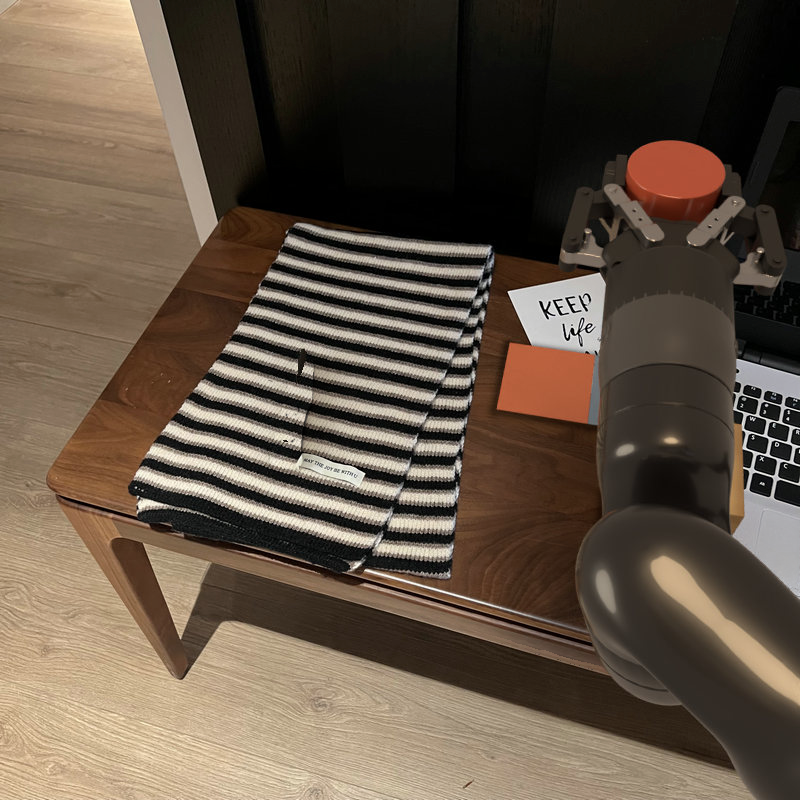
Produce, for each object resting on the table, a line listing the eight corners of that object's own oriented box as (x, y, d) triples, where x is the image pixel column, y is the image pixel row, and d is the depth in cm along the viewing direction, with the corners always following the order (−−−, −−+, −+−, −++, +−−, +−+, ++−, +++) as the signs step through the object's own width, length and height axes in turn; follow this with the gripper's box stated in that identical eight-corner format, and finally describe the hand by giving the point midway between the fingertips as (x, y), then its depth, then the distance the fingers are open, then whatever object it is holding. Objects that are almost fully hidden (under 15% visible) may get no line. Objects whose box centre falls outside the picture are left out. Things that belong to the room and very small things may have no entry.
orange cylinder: (695, 246, 61) (728, 146, 54) (689, 303, 57) (723, 204, 50) (612, 233, 62) (633, 134, 55) (600, 288, 58) (622, 190, 51)
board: (682, 373, 90) (684, 367, 89) (680, 443, 84) (682, 438, 83) (509, 347, 93) (509, 342, 92) (496, 414, 87) (496, 409, 86)
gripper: (537, 366, 50) (562, 201, 60) (773, 400, 48) (759, 222, 57) (550, 282, 44) (575, 114, 54) (820, 315, 42) (796, 133, 51)
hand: (670, 170), depth 55 cm, fingers closed on orange cylinder, 6 cm apart
